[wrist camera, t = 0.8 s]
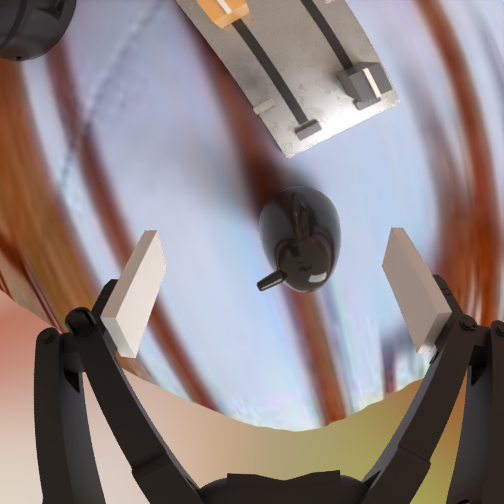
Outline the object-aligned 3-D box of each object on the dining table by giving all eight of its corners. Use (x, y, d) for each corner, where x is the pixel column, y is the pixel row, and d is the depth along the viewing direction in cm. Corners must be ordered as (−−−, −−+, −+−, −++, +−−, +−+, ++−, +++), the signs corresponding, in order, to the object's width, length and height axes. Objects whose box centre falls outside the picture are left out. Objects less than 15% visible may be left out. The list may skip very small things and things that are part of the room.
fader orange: (207, 9, 26) (194, -1, 21) (234, -7, 25) (228, -21, 19) (222, 29, 27) (212, 22, 22) (250, 13, 26) (246, 2, 21)
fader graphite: (335, 73, 30) (349, 76, 24) (361, 61, 28) (380, 62, 23) (348, 96, 31) (364, 103, 26) (374, 84, 30) (394, 90, 25)
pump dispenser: (247, 189, 41) (237, 256, 28) (323, 166, 39) (350, 225, 26) (271, 249, 46) (272, 327, 34) (339, 231, 44) (364, 305, 31)
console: (178, 4, 27) (171, 0, 24) (296, -58, 21) (298, -66, 19) (284, 155, 38) (286, 162, 35) (395, 99, 32) (405, 103, 30)
